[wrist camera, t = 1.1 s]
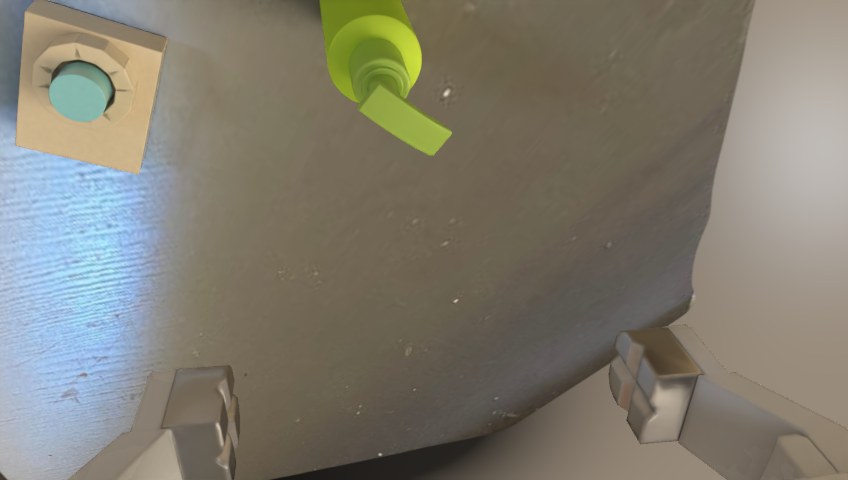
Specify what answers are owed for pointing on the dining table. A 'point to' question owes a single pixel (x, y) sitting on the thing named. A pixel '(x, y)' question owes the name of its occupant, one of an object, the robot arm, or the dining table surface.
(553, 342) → the dining table surface
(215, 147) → the dining table surface
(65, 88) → the teal short cylinder
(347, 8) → the soap dispenser
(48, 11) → the beige nut base
